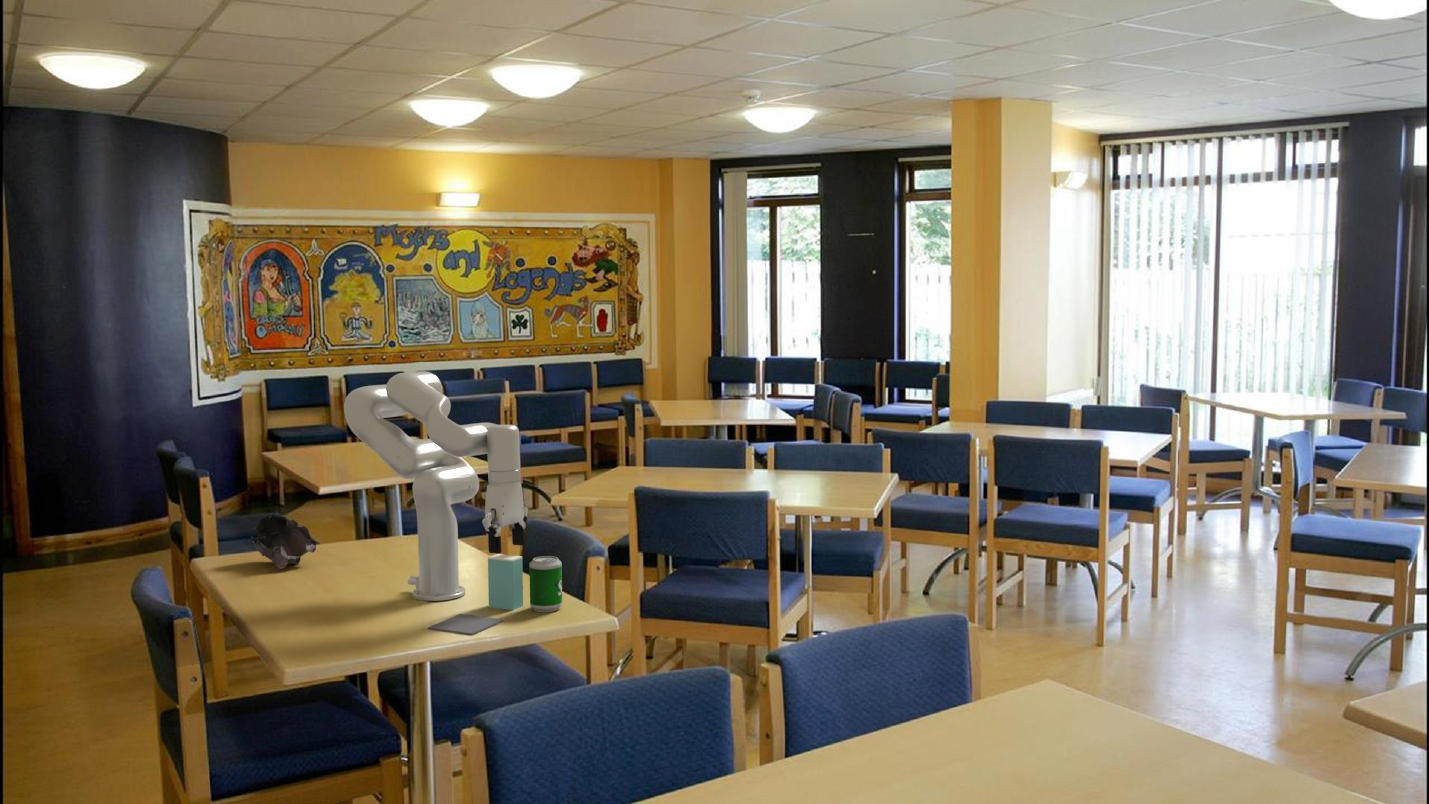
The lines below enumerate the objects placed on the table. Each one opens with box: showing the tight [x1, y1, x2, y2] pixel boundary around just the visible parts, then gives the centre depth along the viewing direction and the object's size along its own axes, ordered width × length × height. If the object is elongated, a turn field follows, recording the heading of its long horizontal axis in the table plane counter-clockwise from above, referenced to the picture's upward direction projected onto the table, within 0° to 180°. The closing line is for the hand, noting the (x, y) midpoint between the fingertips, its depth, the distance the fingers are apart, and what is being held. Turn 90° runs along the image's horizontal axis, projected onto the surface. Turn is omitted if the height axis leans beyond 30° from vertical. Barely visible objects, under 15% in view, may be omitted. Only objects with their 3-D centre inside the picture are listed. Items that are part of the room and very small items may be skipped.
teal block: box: [487, 553, 524, 611], centre depth 270 cm, size 7×4×12 cm, turn 66°
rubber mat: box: [427, 613, 505, 636], centre depth 255 cm, size 12×12×1 cm
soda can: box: [528, 555, 563, 613], centre depth 268 cm, size 8×8×12 cm
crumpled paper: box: [251, 513, 317, 569], centre depth 314 cm, size 14×15×20 cm
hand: (507, 548), depth 269 cm, fingers open, 9 cm apart
